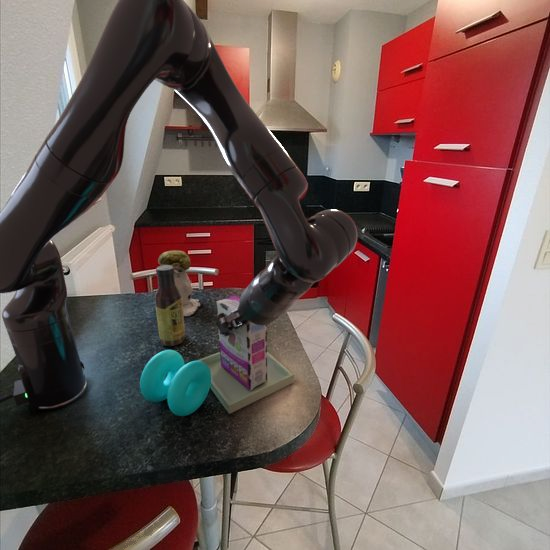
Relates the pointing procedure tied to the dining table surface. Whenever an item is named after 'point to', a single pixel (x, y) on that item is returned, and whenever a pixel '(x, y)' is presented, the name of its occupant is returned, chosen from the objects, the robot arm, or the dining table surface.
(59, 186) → the robot arm
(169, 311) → the sauce bottle
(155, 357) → the turquoise spool
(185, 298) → the green-topped white figurine
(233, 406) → the tray
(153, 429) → the dining table surface
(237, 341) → the candy bar box
